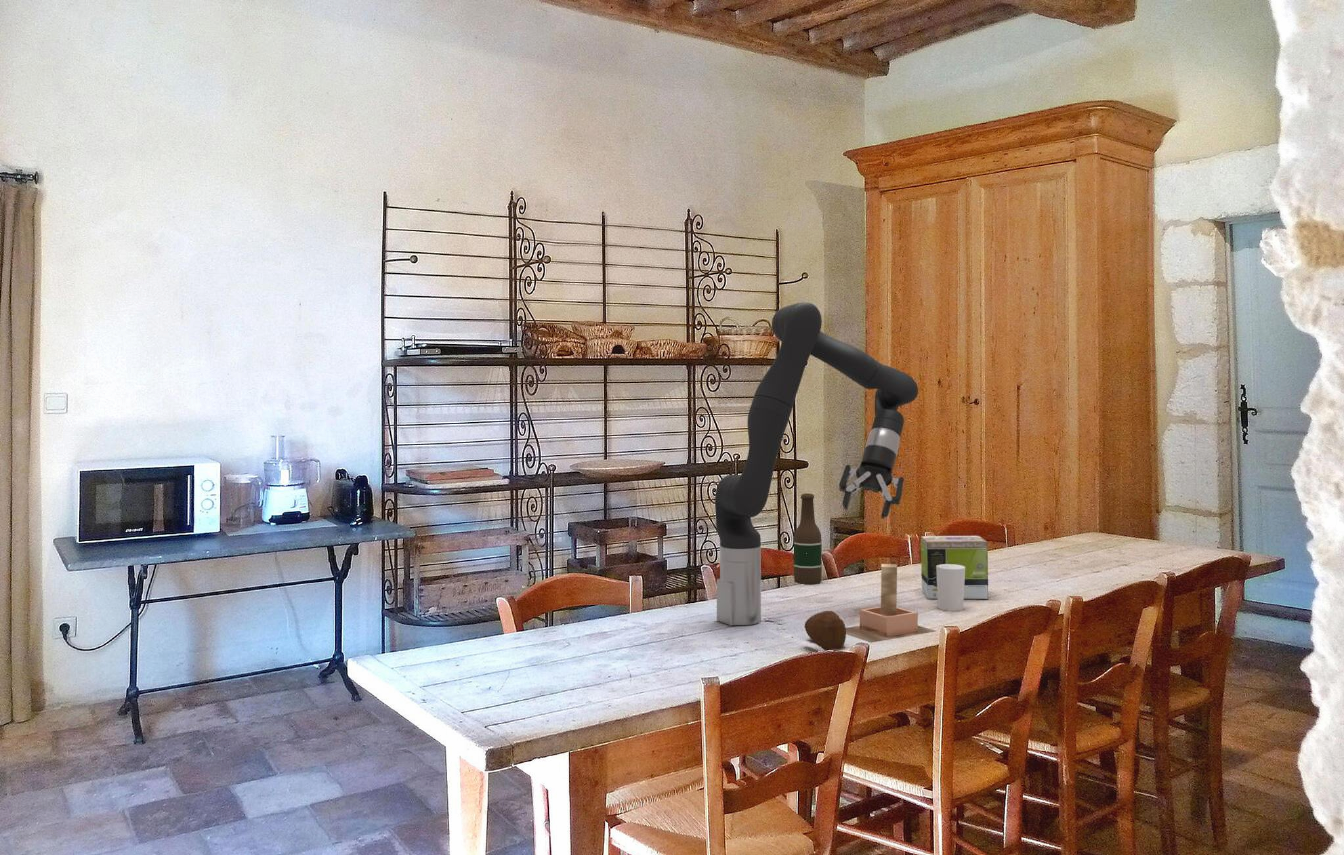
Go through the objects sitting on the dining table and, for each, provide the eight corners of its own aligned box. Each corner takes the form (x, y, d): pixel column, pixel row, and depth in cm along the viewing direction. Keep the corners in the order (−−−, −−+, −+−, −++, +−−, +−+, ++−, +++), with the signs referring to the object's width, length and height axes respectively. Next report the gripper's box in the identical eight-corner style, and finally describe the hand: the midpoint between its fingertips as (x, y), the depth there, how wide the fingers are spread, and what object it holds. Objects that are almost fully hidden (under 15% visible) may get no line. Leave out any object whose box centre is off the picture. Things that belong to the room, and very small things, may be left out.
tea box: (980, 591, 256) (980, 534, 255) (988, 600, 246) (989, 540, 245) (920, 591, 258) (920, 534, 257) (926, 599, 248) (926, 540, 247)
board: (870, 648, 203) (870, 642, 202) (833, 635, 213) (833, 629, 213) (936, 636, 211) (936, 630, 211) (897, 624, 222) (897, 619, 222)
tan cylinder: (877, 627, 211) (878, 567, 210) (877, 622, 215) (878, 563, 214) (899, 629, 210) (900, 568, 209) (898, 623, 214) (899, 563, 214)
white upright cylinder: (966, 611, 234) (966, 569, 233) (937, 610, 235) (937, 568, 235) (963, 605, 240) (964, 564, 240) (935, 604, 242) (935, 563, 241)
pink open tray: (886, 636, 207) (886, 617, 207) (859, 628, 214) (859, 609, 214) (917, 631, 211) (917, 612, 211) (890, 623, 218) (890, 605, 218)
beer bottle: (813, 585, 265) (813, 496, 264) (788, 582, 270) (787, 494, 269) (827, 581, 271) (827, 493, 270) (802, 577, 276) (802, 491, 275)
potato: (830, 657, 196) (830, 617, 196) (797, 646, 204) (797, 608, 204) (857, 651, 200) (857, 612, 200) (824, 641, 208) (824, 604, 208)
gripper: (850, 437, 233) (833, 499, 227) (911, 451, 229) (895, 514, 223) (851, 451, 240) (834, 512, 233) (910, 464, 236) (894, 526, 229)
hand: (864, 513), depth 228 cm, fingers open, 8 cm apart
